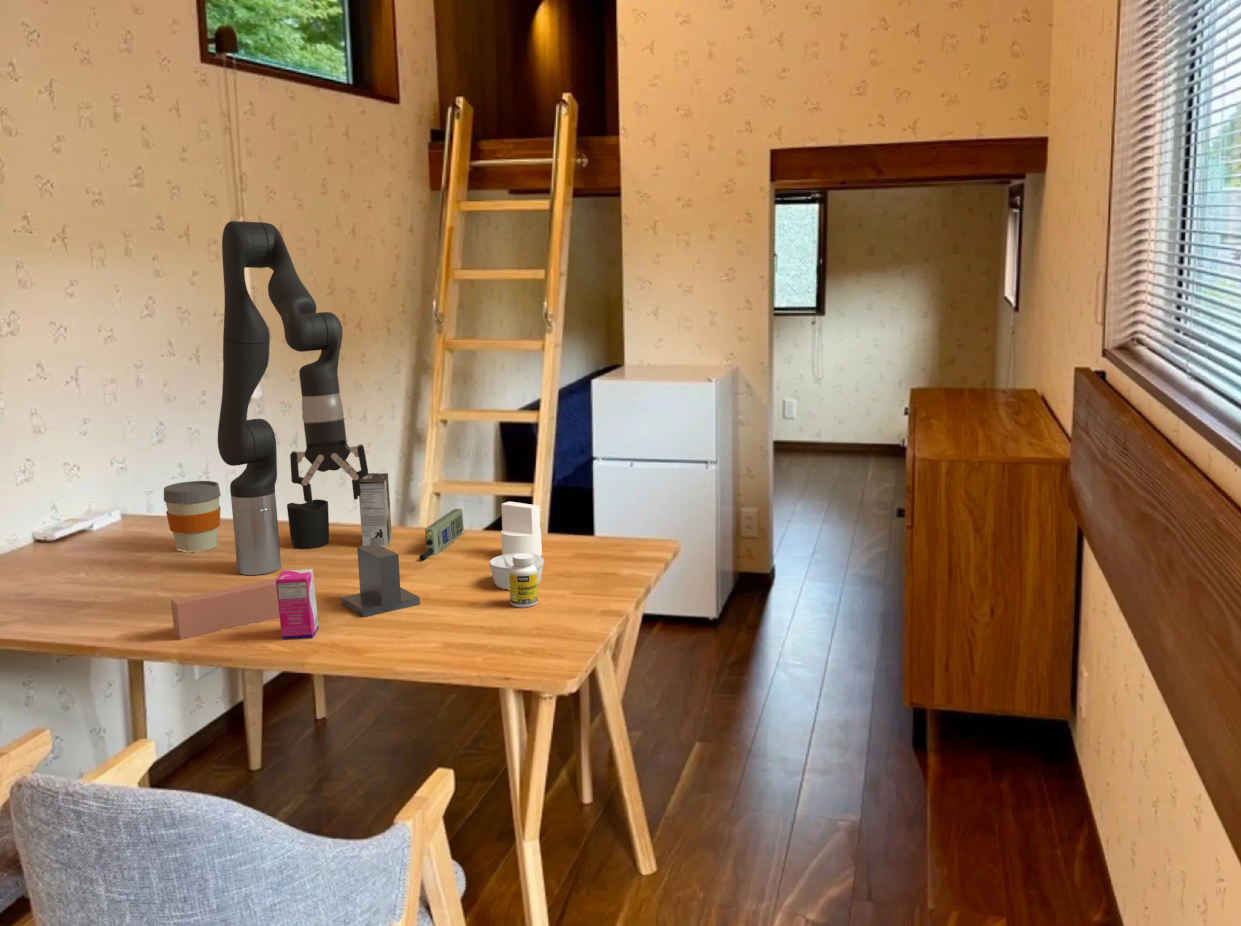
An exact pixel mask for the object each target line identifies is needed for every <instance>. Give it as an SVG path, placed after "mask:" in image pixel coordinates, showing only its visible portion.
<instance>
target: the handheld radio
mask: <svg viewBox="0 0 1241 926" xmlns="http://www.w3.org/2000/svg"><path fill="white" fill-rule="evenodd" d="M462 531H464V533H462ZM424 532H425V542H426V543H425V544H426V551H424V552H423V553H422V554H420V555H419V558H418V559H419V560H420V561H424V560H425V559H427V558H428V557H429V556H437V555H439V554H440V553H441V552H442V551H444V550H445V549H446V548H447V546H448V545H449V546H450V545H451V544H450V543H452V542H453V543H454V542H455V541H454V540H456V539H457V537H459V536H461V537H462V536H463V535H461V534H464V535H465V526H464V515H463V509H462V508H454V509H452V510H451V511H449V512H447V513H446V514H444V515H443V516H441V517H440V518H439V519H437V520H436V521H434V522H433V523H431V524H430V525H428V526H426V528H425V529H424ZM457 540H458V539H457ZM457 540H456V541H457ZM453 543H452V544H453ZM449 546H448V547H449ZM444 548H445V549H444ZM443 549H444V550H443ZM431 554H432V555H431ZM436 554H437V555H436Z"/></svg>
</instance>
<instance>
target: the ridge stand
mask: <svg viewBox="0 0 1241 926" xmlns="http://www.w3.org/2000/svg"><path fill="white" fill-rule="evenodd" d="M356 549H357V566H358V578H359V580H358V581H359V593H354V594H351V595H346V596H342V597H341V598H340V599H341V605H342V606H343V607H345V608H347V609H349V610H350V611H352V612H353V613H355V614H356V615H358V616H360V617H362V618H366V617H371V616H375V615H380V614H384V613H388V612H392V611H396V610H401V609H404V608H409V607H414V606H419V605H420V604H421V598H420V596H418V595H416V594H414V593H413V592H410V591H409V590H407V589H406V588H403V587H401V578H400V577H401V576H400V560H399V559H400V557H399V553H397V552H395V551H392V550H390V549H388V548H387V547H382V546H380V545H377V544H372V545H367V546H362V545H361V546H357V548H356Z"/></svg>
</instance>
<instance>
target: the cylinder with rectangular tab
mask: <svg viewBox="0 0 1241 926" xmlns="http://www.w3.org/2000/svg"><path fill="white" fill-rule="evenodd" d="M540 512H541V511H540V505H538V504H529V503H524V502H523V503H522V502H517V501H516V502H515V501H506V502H503V503H501V526H502V530H501V531H500V532H501V533H500V535H501V553H502V555H505V554H513V553H530V554H536V555H539V556H541V555H542V556H543V548H542V529H541V513H540Z"/></svg>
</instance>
